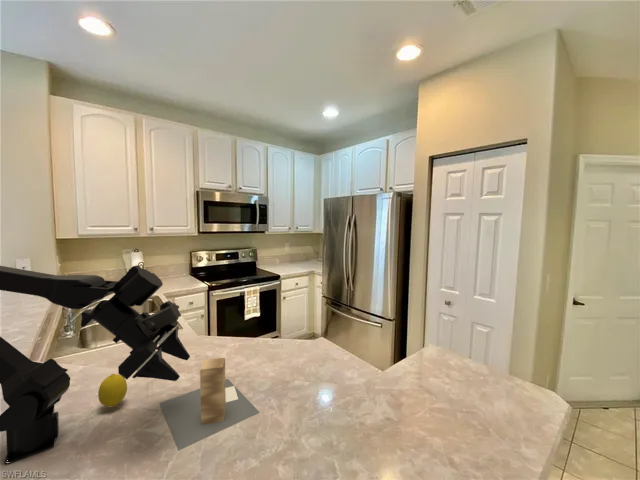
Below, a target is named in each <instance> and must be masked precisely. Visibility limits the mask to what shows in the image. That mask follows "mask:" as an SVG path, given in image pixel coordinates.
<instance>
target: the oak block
mask: <svg viewBox="0 0 640 480" xmlns="http://www.w3.org/2000/svg"><path fill="white" fill-rule="evenodd" d="M199 377H200V378H199V380H200V382H199V383H200V384H199V385H200V387H199V389H200V395H201V425H203V424H209V423H216V422H222V421H224V416H225V409H226V393H225V380H226V358H225V357H219V358H210V359H203V361H202V364H201V367H200V369H199Z"/></svg>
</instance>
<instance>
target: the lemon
mask: <svg viewBox="0 0 640 480" xmlns="http://www.w3.org/2000/svg"><path fill="white" fill-rule="evenodd" d="M127 391H128V384H127V380H126V379H125V378H124V377H122V376H121V375H120V374H117V373H111V374H110V375H108V376H107V377H106V378H104V379H103V381H102V382H101V383H100V385H99V387H98V393H97V395H98V400H99V403H100V404H101V405H102V406H104V407H108V408H109V407H111V408H115V407H116V406H117V405H118V404H120V403H121V402H122V401H123V400H124V398H125V397H126V394H127Z"/></svg>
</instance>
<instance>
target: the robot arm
mask: <svg viewBox="0 0 640 480" xmlns="http://www.w3.org/2000/svg"><path fill="white" fill-rule="evenodd" d="M161 287H163V282H162V280H161V278H159V276H157V275H156V274H155V273H154V272H151V271H149V270H147V269H144V268H142V267H140V266H139V265H137V264H136V265H133V266H132V267H130V268H129V269H128V271H127V272H126V273H125V275H123V276H122V277H121V278H120V279H119V280H118V281H116V280H115V281H114V280H106V279H105V278H104V277H102V276H100V275H95V274H94V275H93V274H90V275H89V274H70V275H68V274H66V275H61V274H59V275H58V274H57V275H56V274H50V273H45V272H44V273H43V272H40V271H39V272H38V271H34V270H27V269H21V268H16V267H10V266H3V265H0V291H4V292H9V293H11V292H12V293H16V294H17V293H18V294H22V295H27V296H28V295H30V296H37V297H40V298H43V299H46V301H47V300H48V301H49V303H50V302H51V303H52V304H53V305H56V306H60V307H64V308H66V309H70V310H80V309H84V308H87V307H88V306H91V305H93V304H95V303H97V304H96V305H95V306H94V307H93V308H92V309H88V310H85V311H83V312H82V313H81V321H80V327H82V328H85V327H87V326H88V325H90V324H92V323H94V322H96V323H97V324H98V325H100V326H101V327H103V328H104V330H106V331H108V332H109V333H111V334H112V336H114V338H112V341H113V342H114V343H115V344H118V343H119V342H122V343H123V344H125V345H126V346H127V347H128V348H130V349H131V350H130V351H129V355H128V356H127V357H126V358H125V359H124V360H123V361H122V362H121V363H120V364H119V365H118V366H117V367H118V368H117V371H118V372H117V373H118V375H121V376H122V377H124V378H125V380H126V381H127V380H128V379H129V378H130V377H131V378H132V379H136V378H144V379H145V378H147V379H157V380H163V381H164V380H165V381H172V382H177V381H178V380H179V378H180V377H181V376H180V375H179V373H178V372H177V371H176V370H175V369H174V368H173V367H172V366H171V365H170V364H169V363H168V362H167V361H166V360H165V359H164V358H163V353H164V354H167V355H169V356H172V357H174V358H178V359H181V360H183V361H188V360H189V359H190V357H191V356H190V354H189V353H188V350H187V349H186V347H185V346H184V345H183V343H182V341H181V339H180V338H179V328H180V327H179V325H178V324H179V321H178V320H179V318H180V317H181V316H182V314H181V312H180V310H179V309H180V306H179V304H178V305H177V303H175V302H171V301H170V300H167V301H165V302H162V303H161V304H160V306H159V310H158V311H155V312H154V313H152V314H150V313H148V312H146V311H142V312H141V313H140V312H138V311H137V310H136V309H135V308H133V307H136V306H137V307H141V306H143V305H144V304H145V303H146V302H147V301H149V299H151V298H152V296H153V295H154V294H155V293H157V291H159V289H161ZM113 294H114V295H113ZM111 295H113V296H111ZM108 296H111V297H110V298H109V299H107V300H106V299H105V300H103V299H104V298H106V297H108ZM99 301H100V302H99ZM98 302H99V303H98ZM177 325H178V326H177ZM68 370H69V369H68V368H65V367H62V366H61V365H60V364H59V363H58V362H57V361H56V360H55V359H53V358H49V359H47V360H45V361H44V362H38V361H34V360H31V359H30V358H29V357H27V356H26V355H24V354H23V353H22V352H21V351H19V350H18V349H17V348H16V347H15V346H13V345H12V344H11V343H9V342H8V341H7V340H6V339H4V338H3V336H0V386H1V392H2V398H3V401H4V402H5V403H6V405H8V407H7V408H6V409H5V410H4V411H3V412H2V413H1V414H0V433H1V432H5V433H6V434H5V439H6V455H5V458H4V461H3V462H11V463H13V462H16V461H19V460H21V459H24V458H27V457H30V456H33V455H35V454H38V453H41V452H43V451H46V450H49V449H52V448H54V447H55V442H56V439H57V438H59V432H60V422H59V421H60V419H59V417H60V416H59V411H55V405H56V404H57V403H59V402H60V401H61V399H62V396H63V395H65V393H67V391H68V390H69V388H70V385H71V384H70V383H71V377H70V375H69V374H68V373H67V371H68ZM7 460H8V461H7Z"/></svg>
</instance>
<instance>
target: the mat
mask: <svg viewBox="0 0 640 480" xmlns="http://www.w3.org/2000/svg"><path fill="white" fill-rule="evenodd" d="M225 393H226V409H225V416H224V421H222V422H216V423H209V424H203V425H201V395H200V388H196V389H195V390H191V391H189V392H186V393H184V394H181V395H178V396H175V397H173V398H170V399H167V400H163V401H160V402H159V403H158V404H159V407H160V409H161V411H162V414H163V416H164V418H165V422H166V423H167V427H168V428H169V431H170V434H171V437H172V438H173V441H174V443H175V446H176V448H177V450H178V451H181V450H183V449H185V448H187V447H189V446H192V445H194V444H196V443H198V442H200V441H202V440H204V439H207V438H208V437H210V436H213V435H215V434H218V433H220V432H221V431H224V430H226V429H228V428H230V427H232V426H235V425H236V424H238V423H240V422H243V421H245V420H247V419H249V418H251V417H253V416H255V415H258V414H260V411H259V409H257V408H256V407H255V406H254V405H253V404H252V402H251V401H250V400H249V399H248V398H247V397H246V396H245V395H244V394H243V393H242V392H241V390H239V389H238V388H237V387H236V386H235V385H234V384H233V382H232V381H230V379H229V378H225Z"/></svg>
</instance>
